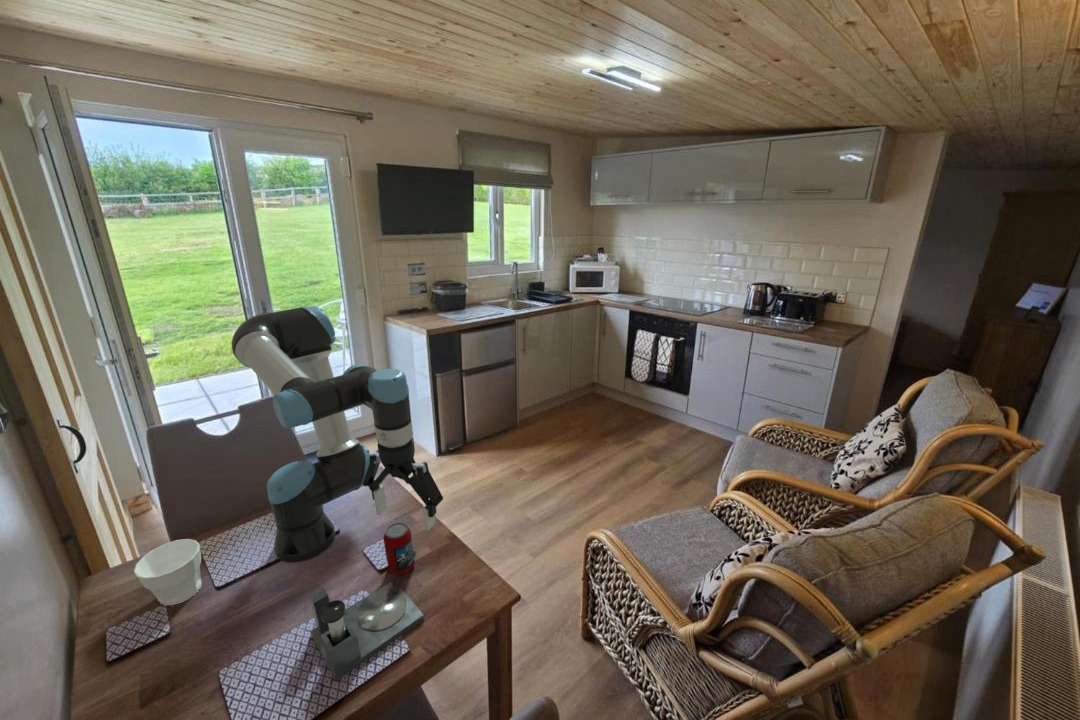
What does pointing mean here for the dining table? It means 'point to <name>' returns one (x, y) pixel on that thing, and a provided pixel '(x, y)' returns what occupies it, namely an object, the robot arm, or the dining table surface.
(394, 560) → the beverage can
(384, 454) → the robot arm
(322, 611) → the plunger
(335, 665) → the press
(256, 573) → the dining table surface
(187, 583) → the cup
